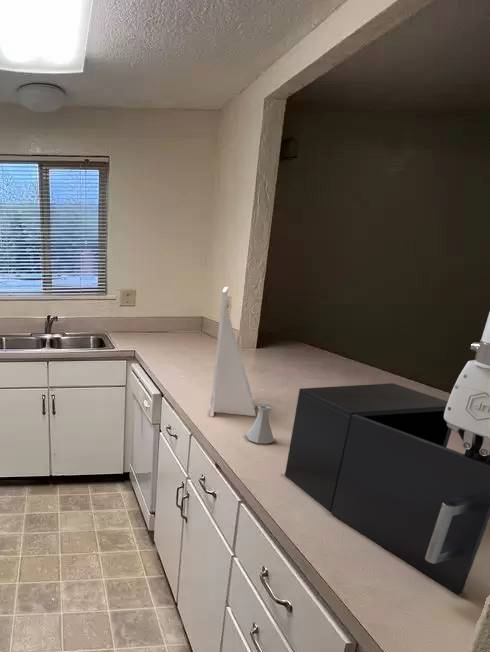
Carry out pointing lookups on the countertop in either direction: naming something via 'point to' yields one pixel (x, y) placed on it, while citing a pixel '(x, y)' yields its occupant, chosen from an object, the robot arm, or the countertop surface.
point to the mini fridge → (334, 422)
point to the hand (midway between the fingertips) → (473, 474)
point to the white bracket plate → (229, 371)
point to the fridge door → (414, 499)
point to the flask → (261, 427)
